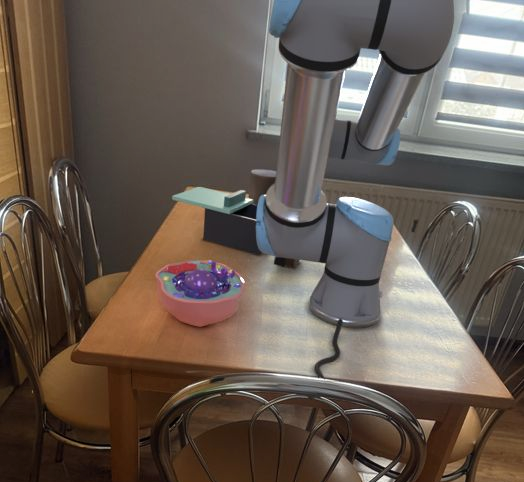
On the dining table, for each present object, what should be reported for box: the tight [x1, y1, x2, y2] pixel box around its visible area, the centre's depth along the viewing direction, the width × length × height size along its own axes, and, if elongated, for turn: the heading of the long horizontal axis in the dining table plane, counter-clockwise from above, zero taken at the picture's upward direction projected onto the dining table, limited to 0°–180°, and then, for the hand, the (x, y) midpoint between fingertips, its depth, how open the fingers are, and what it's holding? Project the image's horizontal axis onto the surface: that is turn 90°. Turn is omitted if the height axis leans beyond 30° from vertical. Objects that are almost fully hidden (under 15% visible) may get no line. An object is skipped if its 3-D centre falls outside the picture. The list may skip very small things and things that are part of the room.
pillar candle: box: [247, 169, 276, 205], centre depth 159 cm, size 10×10×15 cm
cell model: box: [154, 259, 246, 328], centre depth 97 cm, size 17×20×11 cm
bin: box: [202, 204, 263, 256], centre depth 139 cm, size 14×17×9 cm
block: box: [285, 258, 301, 269], centre depth 129 cm, size 4×4×4 cm
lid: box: [171, 186, 253, 214], centre depth 138 cm, size 14×17×4 cm
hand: (289, 257), depth 130 cm, fingers open, 13 cm apart
